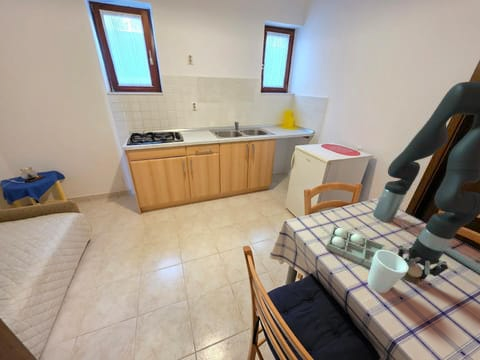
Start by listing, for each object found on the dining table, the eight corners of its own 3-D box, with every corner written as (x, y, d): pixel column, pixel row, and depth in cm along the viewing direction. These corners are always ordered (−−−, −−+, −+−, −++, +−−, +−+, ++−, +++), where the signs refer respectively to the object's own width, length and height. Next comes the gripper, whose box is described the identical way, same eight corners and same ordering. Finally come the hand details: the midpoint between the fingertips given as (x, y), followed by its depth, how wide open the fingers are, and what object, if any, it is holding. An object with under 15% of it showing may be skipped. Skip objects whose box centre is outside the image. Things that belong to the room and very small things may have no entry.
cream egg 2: (331, 240, 90) (334, 232, 88) (343, 245, 88) (346, 237, 86) (329, 247, 87) (332, 239, 84) (341, 252, 84) (344, 244, 82)
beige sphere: (402, 266, 78) (407, 257, 76) (418, 272, 76) (424, 264, 74) (403, 275, 75) (408, 266, 72) (419, 282, 72) (426, 273, 70)
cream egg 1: (334, 232, 95) (337, 224, 93) (345, 236, 93) (348, 228, 91) (332, 238, 92) (335, 230, 89) (344, 243, 89) (347, 234, 87)
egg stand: (401, 268, 79) (403, 265, 78) (416, 275, 76) (418, 271, 76) (402, 277, 75) (404, 274, 74) (417, 284, 73) (420, 281, 72)
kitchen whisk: (491, 285, 74) (502, 274, 71) (395, 229, 101) (400, 219, 98) (497, 279, 76) (508, 268, 73) (402, 225, 103) (407, 216, 100)
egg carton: (332, 230, 97) (333, 226, 96) (382, 250, 87) (384, 245, 86) (325, 249, 87) (327, 244, 85) (381, 273, 77) (384, 268, 75)
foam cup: (378, 300, 67) (393, 275, 61) (357, 276, 75) (368, 252, 69) (399, 293, 70) (415, 268, 64) (376, 271, 77) (389, 247, 71)
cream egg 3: (349, 238, 92) (353, 230, 90) (361, 242, 90) (365, 234, 88) (348, 244, 88) (351, 236, 86) (360, 249, 86) (364, 241, 84)
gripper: (457, 244, 67) (432, 276, 75) (405, 227, 74) (388, 259, 81) (464, 259, 61) (436, 292, 69) (407, 239, 68) (388, 272, 76)
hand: (410, 274), depth 75 cm, fingers closed on beige sphere, 5 cm apart
